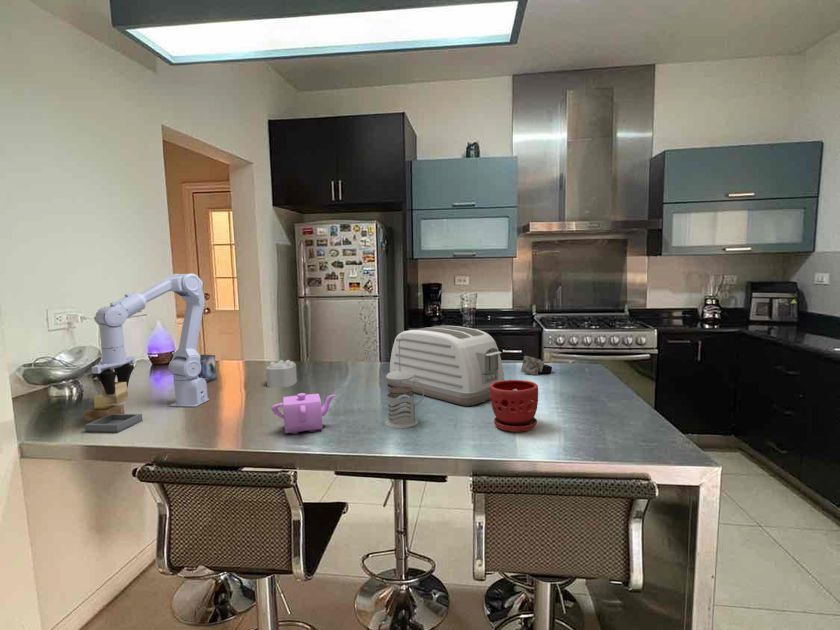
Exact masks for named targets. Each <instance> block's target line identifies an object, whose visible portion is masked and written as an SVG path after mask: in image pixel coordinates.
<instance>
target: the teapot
mask: <svg viewBox="0 0 840 630" xmlns="http://www.w3.org/2000/svg"><path fill="white" fill-rule="evenodd" d="M336 396H337V394H330V395H329V396H327V397H326V399H325V402H324V405H323V406H322V400H321V397H320V394H319V393H311V394H310V393H309V394H306V393H305V392H301V393H297V394H296V395H290V396H283V397H282V400H283V401H282V402H280V403H276V404H275V403H274V405H272V406H271V408H270V409H271V411H272V412H273V414H274V415H276V416H277V417H279V418H281V419H282V420H283V423H284V424H283V425H284V426H283V427H284V434H289V433H290V434H292V435H296V434H299V433H300V432H310V433H311V432H312V433H313V432H316V431H317V430H323V417H325V416H326V414H327V413H328V410H329V408H330V407H329V406H330V403H331V402H332V399H333V398H334V397H336ZM279 407H282V408H283V413H281V412H280V411H279Z"/></svg>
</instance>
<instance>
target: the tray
mask: <svg viewBox="0 0 840 630" xmlns="http://www.w3.org/2000/svg"><path fill="white" fill-rule="evenodd" d="M143 419H144V418H143V414H142V413H124V414H110V415H107V416H105V417H103V418H100V419H98V420H95V421H90V422H89V423H85V424H84V431H85V433H99V434H100V433H101V434H103V433H104V434H119V433H120V432H123V431H125V430H128V429H129V428H131V427H134V426H136V425H137V423H138V424H139V422H140V423H141V421H142V422H143V421H144V420H143ZM135 424H136V425H135Z"/></svg>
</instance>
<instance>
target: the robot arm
mask: <svg viewBox="0 0 840 630" xmlns="http://www.w3.org/2000/svg"><path fill="white" fill-rule="evenodd" d="M203 284H204V282H203V281H202V279H200V277H199V276H198V275H197V274H195V273H173V274H171V275H170V276H167V277H164V278H163V279H162V280H160V281H158V282H156V283H155V284H153V285H152V286H150V287H149V288H147V289H145V290H144V291H142V292H140V293H135V292H127V293H126V294H124V297H123V298H121V299H119V300H116V301H112V302H109V303H110V305H109V306H102V307H100V308H99V309H98V310H97V312H96V313H95V316H93V319H94V322H95V323H96V324H97V325H98V326H99V327H98V328H99V337H100V347H101V348H100V349H101V357H102V358H101V359H102V361H100V363H98V364H96V365H94V366H93V365H92V366H91V374H94V375H95V376H96V377H97V379H98V380H99V382H100V383H101V386H102V385H103V387H104V389H105V392H106V394H111V395H112V394H114V393H115V382H116V379H117V382H126V383H127V389H128V387H129V382H130V378H131V376H132V373H133V370H134V369H135V366H134V364H136V356H128V357H126V351H125V348H126V347H125V338H124V329H123V325H124V324H125V322H126V320H127V319H129V318H130V317H132V316H135V315H136V314H137V313H140V312H142V310H144V309H146V307H147V306H146V305H147V303H148V302H150V301H153V300H154V299H156V298H158V297H161V296H163V295H165V294H166V293H169V292H173V293H174V294H176V295H178V296H180V297H181V298H182V299H183V301H184V302H185V303H186V305H185V310H184V315H183V316H184V317H183V321H182V327H181V328H182V329H181V333H180V338H179V345H178V348H177V350H176V351H174V353H173V355H172V359H171V360H170V362H169V364H168V371H169V373H170V374H171V375H172V377H173V384H174V394H175V402H173V403H171V404H169V406H170V407H193V408H194V407H198V406H200V405H202V404H204V403H206V402H208V401H210V398H208V397H209V395H208V387H207V386H208V383H206V381H205V379H203V378H199V377H198V375H199V373H200V372H201V364H200V355H201V354H200V353H199V352H198V350H197V349H198V348H197V347H198V344H199V337H200V332H201V331H200V330H201V325H202V320H203V313H204V308H205V302H206V301H205V300H206V299H205V295H204V291H203Z"/></svg>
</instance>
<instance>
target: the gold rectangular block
mask: <svg viewBox="0 0 840 630" xmlns="http://www.w3.org/2000/svg"><path fill="white" fill-rule="evenodd" d="M93 403H94V407H95V410H107V409H110V408H112V404H103V397H102V393H101V394H100V393H99V394H98V395H95V396H93Z"/></svg>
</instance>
